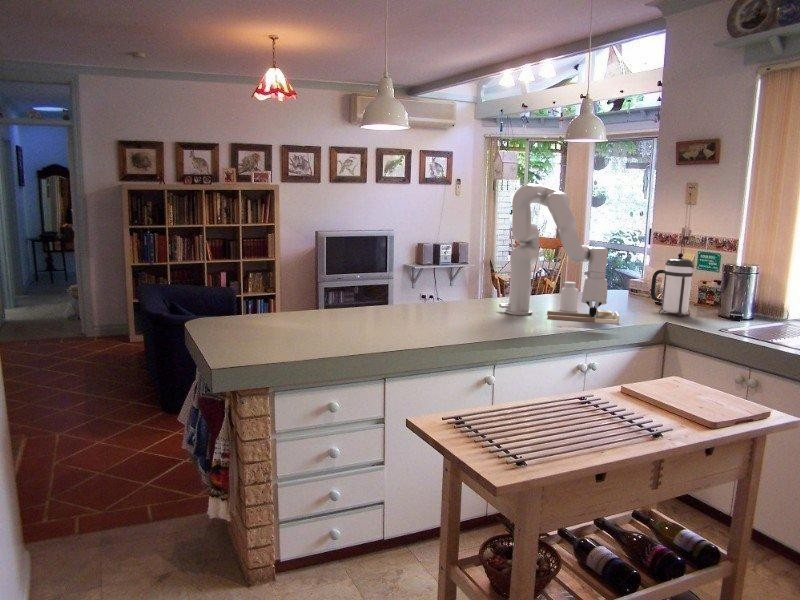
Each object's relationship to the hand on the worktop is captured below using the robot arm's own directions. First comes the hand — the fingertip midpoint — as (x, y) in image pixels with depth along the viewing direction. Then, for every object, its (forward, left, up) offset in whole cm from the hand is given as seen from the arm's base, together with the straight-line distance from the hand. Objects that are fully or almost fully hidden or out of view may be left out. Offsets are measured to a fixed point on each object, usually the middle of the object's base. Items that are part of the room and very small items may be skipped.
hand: (592, 316), depth 281 cm
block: (+5, 0, -1) cm, 5 cm away
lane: (-4, 0, -3) cm, 5 cm away
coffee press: (+41, +39, -3) cm, 56 cm away
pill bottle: (-9, +20, -3) cm, 22 cm away
